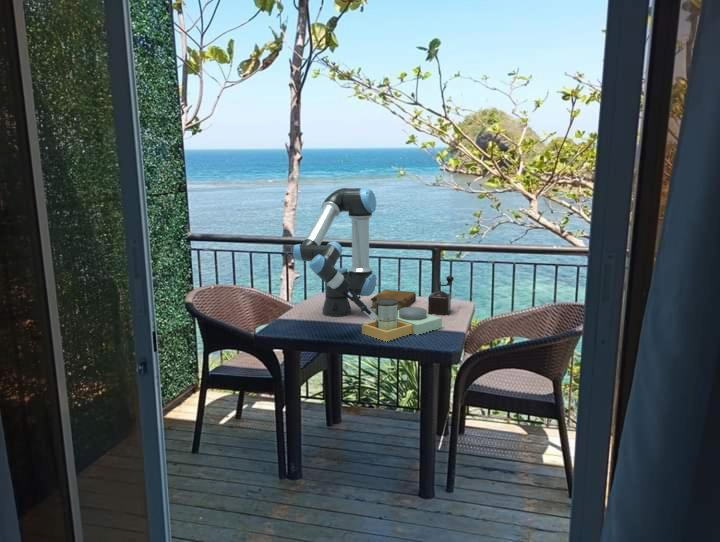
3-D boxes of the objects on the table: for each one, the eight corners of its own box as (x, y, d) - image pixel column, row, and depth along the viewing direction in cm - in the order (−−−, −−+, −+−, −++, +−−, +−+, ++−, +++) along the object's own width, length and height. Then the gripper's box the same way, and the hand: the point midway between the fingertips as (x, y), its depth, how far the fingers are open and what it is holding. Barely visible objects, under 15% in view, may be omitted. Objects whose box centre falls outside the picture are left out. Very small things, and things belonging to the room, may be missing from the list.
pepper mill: (449, 316, 293) (449, 281, 289) (427, 314, 296) (428, 280, 293) (453, 308, 307) (454, 275, 304) (433, 306, 311) (433, 274, 307)
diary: (404, 312, 303) (404, 301, 302) (370, 309, 309) (370, 298, 308) (415, 301, 324) (415, 291, 323) (384, 298, 330) (384, 289, 329)
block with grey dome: (384, 325, 278) (384, 309, 276) (408, 318, 289) (408, 303, 287) (417, 335, 262) (417, 318, 260) (441, 328, 272) (442, 311, 271)
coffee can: (371, 330, 265) (370, 300, 262) (387, 326, 271) (387, 297, 268) (385, 335, 257) (385, 304, 254) (402, 331, 263) (402, 301, 260)
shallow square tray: (361, 333, 265) (361, 324, 264) (387, 326, 275) (387, 317, 275) (386, 342, 253) (386, 332, 252) (412, 334, 263) (412, 324, 262)
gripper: (328, 283, 266) (360, 312, 272) (337, 295, 243) (372, 327, 248) (339, 271, 267) (371, 301, 272) (349, 282, 243) (384, 315, 249)
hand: (371, 314), depth 261 cm, fingers open, 13 cm apart
